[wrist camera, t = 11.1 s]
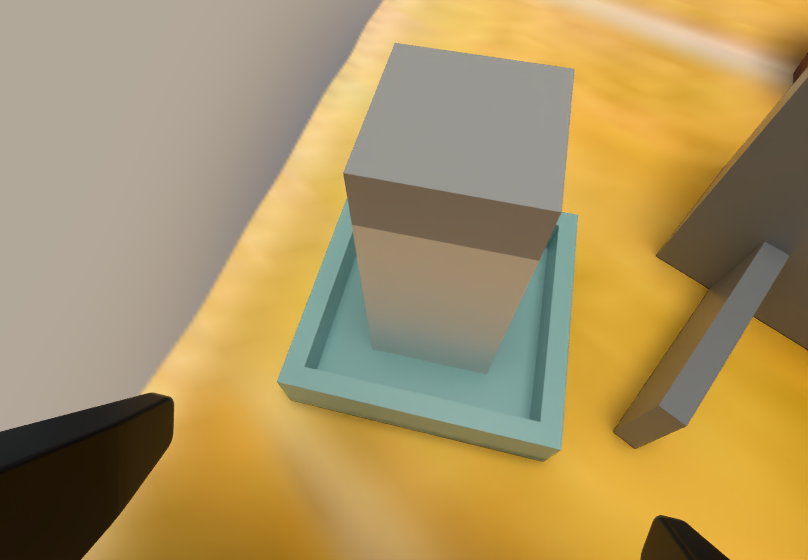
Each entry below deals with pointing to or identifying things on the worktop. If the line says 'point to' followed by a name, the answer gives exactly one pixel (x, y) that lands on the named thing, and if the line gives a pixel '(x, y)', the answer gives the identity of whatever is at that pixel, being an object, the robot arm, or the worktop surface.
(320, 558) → the worktop surface
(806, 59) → the food container
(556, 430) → the teal tray
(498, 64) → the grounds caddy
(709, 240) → the coffee machine bay
